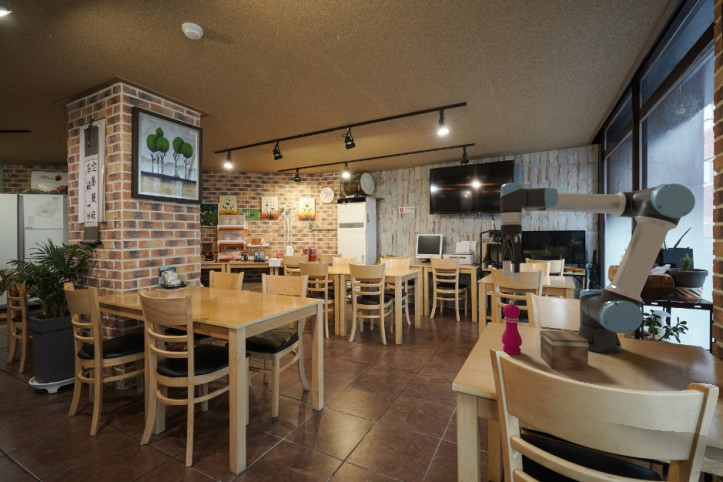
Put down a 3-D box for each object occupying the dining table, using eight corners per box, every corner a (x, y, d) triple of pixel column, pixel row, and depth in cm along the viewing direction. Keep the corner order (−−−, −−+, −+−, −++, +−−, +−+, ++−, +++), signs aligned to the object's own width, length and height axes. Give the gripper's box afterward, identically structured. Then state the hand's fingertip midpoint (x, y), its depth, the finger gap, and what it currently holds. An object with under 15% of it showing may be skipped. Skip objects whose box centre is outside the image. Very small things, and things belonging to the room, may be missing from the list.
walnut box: (573, 358, 121) (573, 331, 120) (588, 370, 110) (588, 340, 109) (540, 356, 123) (540, 330, 122) (551, 368, 112) (551, 339, 111)
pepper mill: (524, 355, 124) (524, 302, 123) (503, 354, 125) (503, 302, 125) (519, 349, 131) (519, 299, 131) (499, 348, 132) (499, 298, 132)
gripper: (493, 225, 140) (493, 275, 141) (509, 223, 116) (509, 283, 116) (512, 225, 139) (512, 275, 139) (532, 222, 114) (532, 283, 115)
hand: (511, 279), depth 128 cm, fingers open, 13 cm apart
